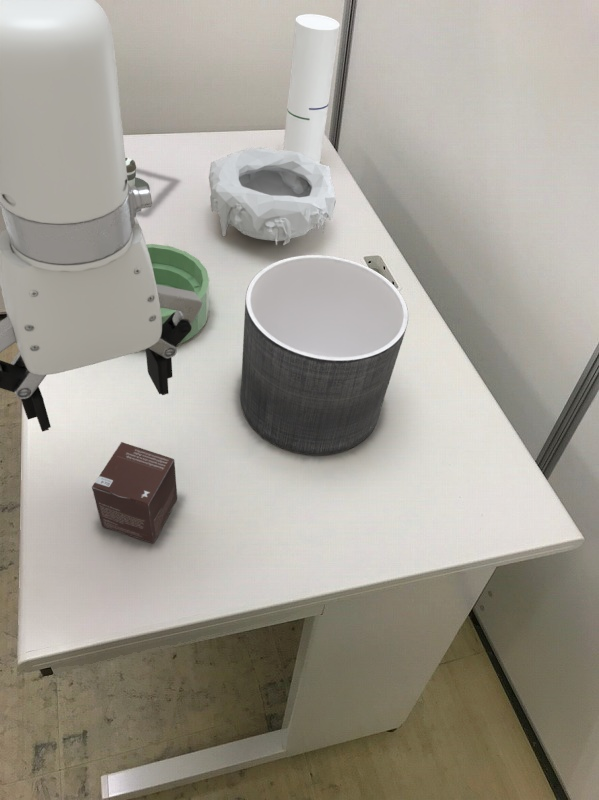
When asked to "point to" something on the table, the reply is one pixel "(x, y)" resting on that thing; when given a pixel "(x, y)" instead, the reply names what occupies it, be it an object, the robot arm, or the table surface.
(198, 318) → the green bowl
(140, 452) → the box
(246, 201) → the bowl
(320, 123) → the cylindrical container
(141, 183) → the coffee cup
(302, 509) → the table surface
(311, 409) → the planter
